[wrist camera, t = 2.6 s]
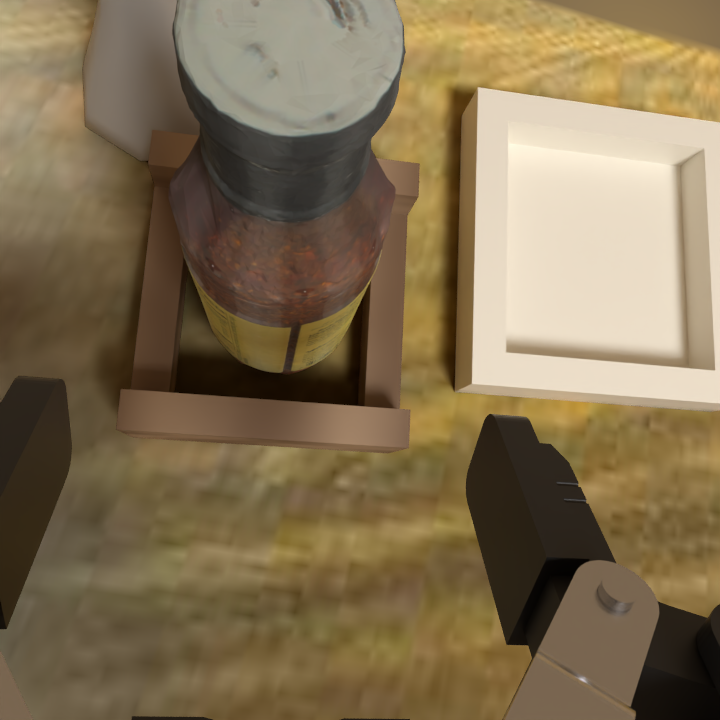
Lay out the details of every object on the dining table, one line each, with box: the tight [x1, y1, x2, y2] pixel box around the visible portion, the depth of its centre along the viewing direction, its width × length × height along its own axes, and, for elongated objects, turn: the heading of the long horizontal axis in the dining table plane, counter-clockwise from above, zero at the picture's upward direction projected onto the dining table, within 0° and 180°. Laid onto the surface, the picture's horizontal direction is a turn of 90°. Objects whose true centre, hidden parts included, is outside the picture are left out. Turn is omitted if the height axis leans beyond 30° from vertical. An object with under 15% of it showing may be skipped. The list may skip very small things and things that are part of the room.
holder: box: [116, 130, 420, 453], centre depth 29 cm, size 11×12×4 cm
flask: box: [83, 0, 200, 161], centre depth 27 cm, size 7×7×10 cm
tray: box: [455, 87, 720, 412], centre depth 33 cm, size 13×14×2 cm
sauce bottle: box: [168, 0, 406, 374], centre depth 21 cm, size 6×6×20 cm
